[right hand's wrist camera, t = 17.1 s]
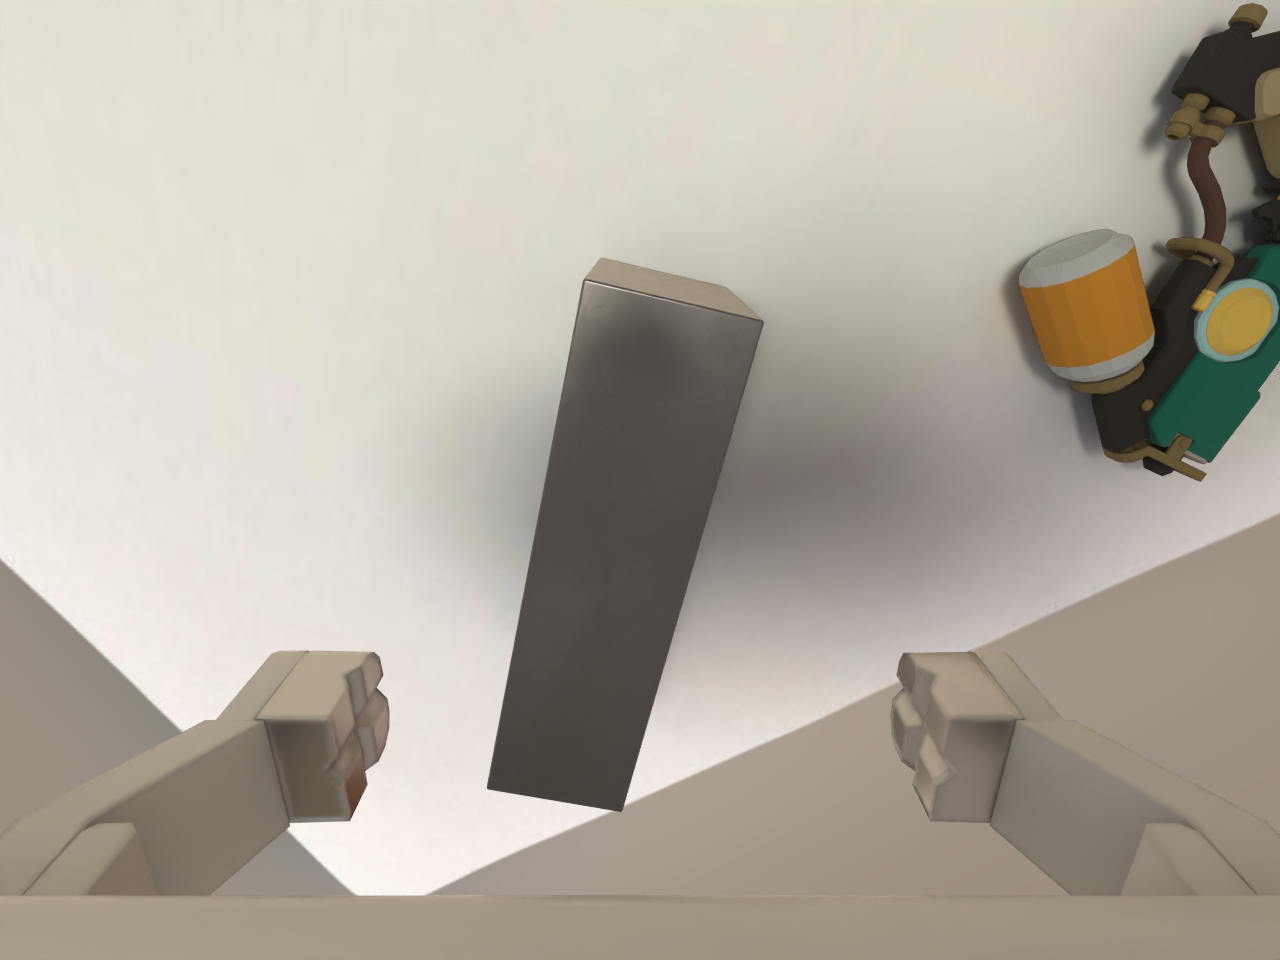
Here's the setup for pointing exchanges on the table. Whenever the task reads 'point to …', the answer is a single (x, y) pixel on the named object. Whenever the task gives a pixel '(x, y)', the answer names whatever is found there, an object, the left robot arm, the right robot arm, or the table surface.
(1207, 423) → the spray gun
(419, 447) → the table surface
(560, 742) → the box
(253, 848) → the right robot arm
